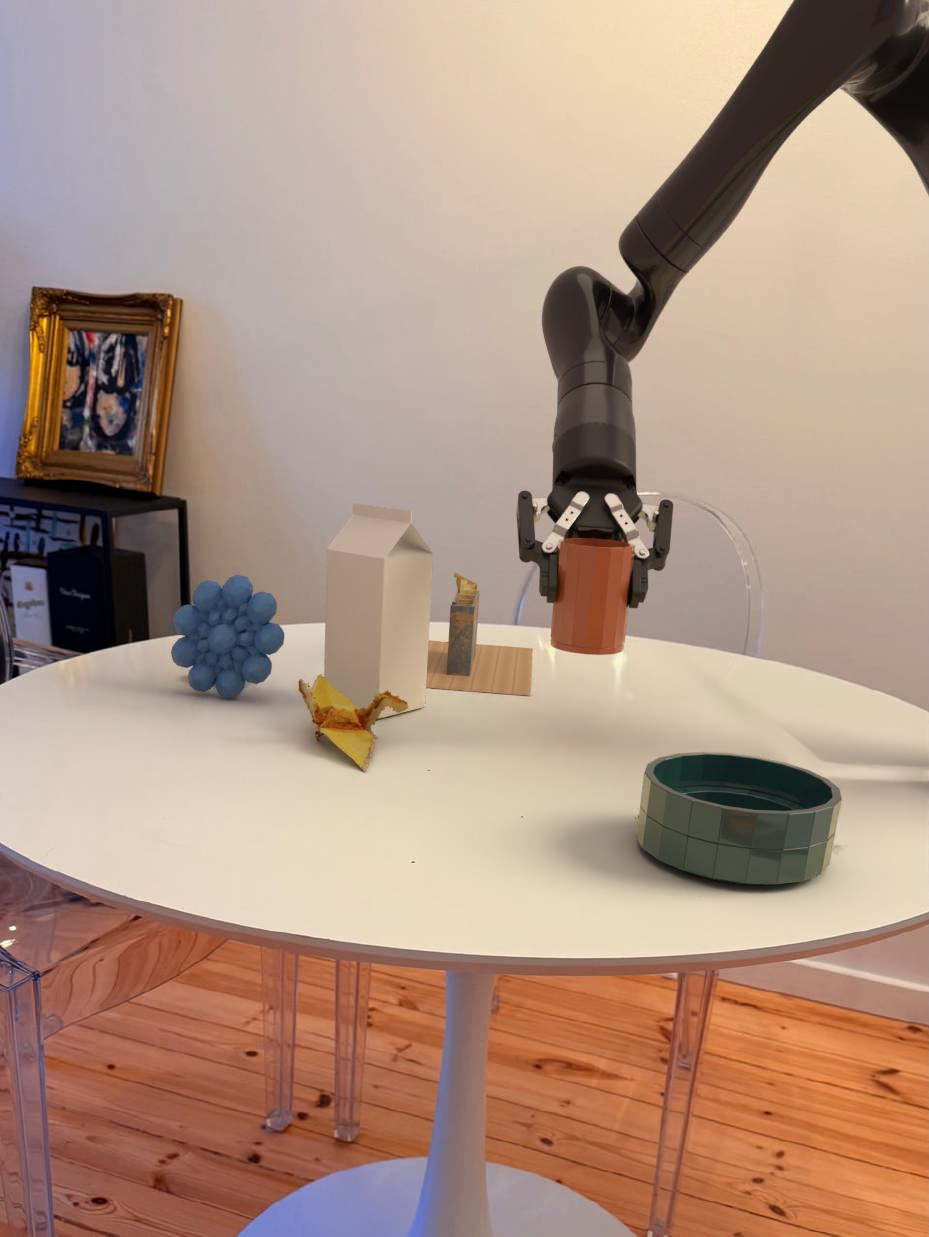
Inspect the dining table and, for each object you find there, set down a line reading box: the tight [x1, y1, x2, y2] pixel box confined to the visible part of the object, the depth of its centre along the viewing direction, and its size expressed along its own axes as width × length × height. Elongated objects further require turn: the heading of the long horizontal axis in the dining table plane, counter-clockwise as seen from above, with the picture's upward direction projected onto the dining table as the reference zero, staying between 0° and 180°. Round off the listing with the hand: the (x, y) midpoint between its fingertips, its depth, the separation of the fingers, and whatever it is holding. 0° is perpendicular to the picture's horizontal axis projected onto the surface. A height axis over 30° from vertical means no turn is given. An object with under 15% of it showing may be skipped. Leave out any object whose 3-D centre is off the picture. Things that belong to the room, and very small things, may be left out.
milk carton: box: [323, 502, 434, 720], centre depth 108 cm, size 7×7×19 cm
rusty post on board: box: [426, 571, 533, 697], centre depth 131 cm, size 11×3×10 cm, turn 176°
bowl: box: [635, 751, 843, 886], centre depth 80 cm, size 13×13×6 cm
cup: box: [550, 538, 635, 656], centre depth 99 cm, size 6×6×9 cm
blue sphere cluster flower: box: [170, 574, 285, 699], centre depth 110 cm, size 12×7×12 cm, turn 76°
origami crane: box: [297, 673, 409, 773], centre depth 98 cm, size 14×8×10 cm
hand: (593, 599), depth 97 cm, fingers closed on cup, 6 cm apart
